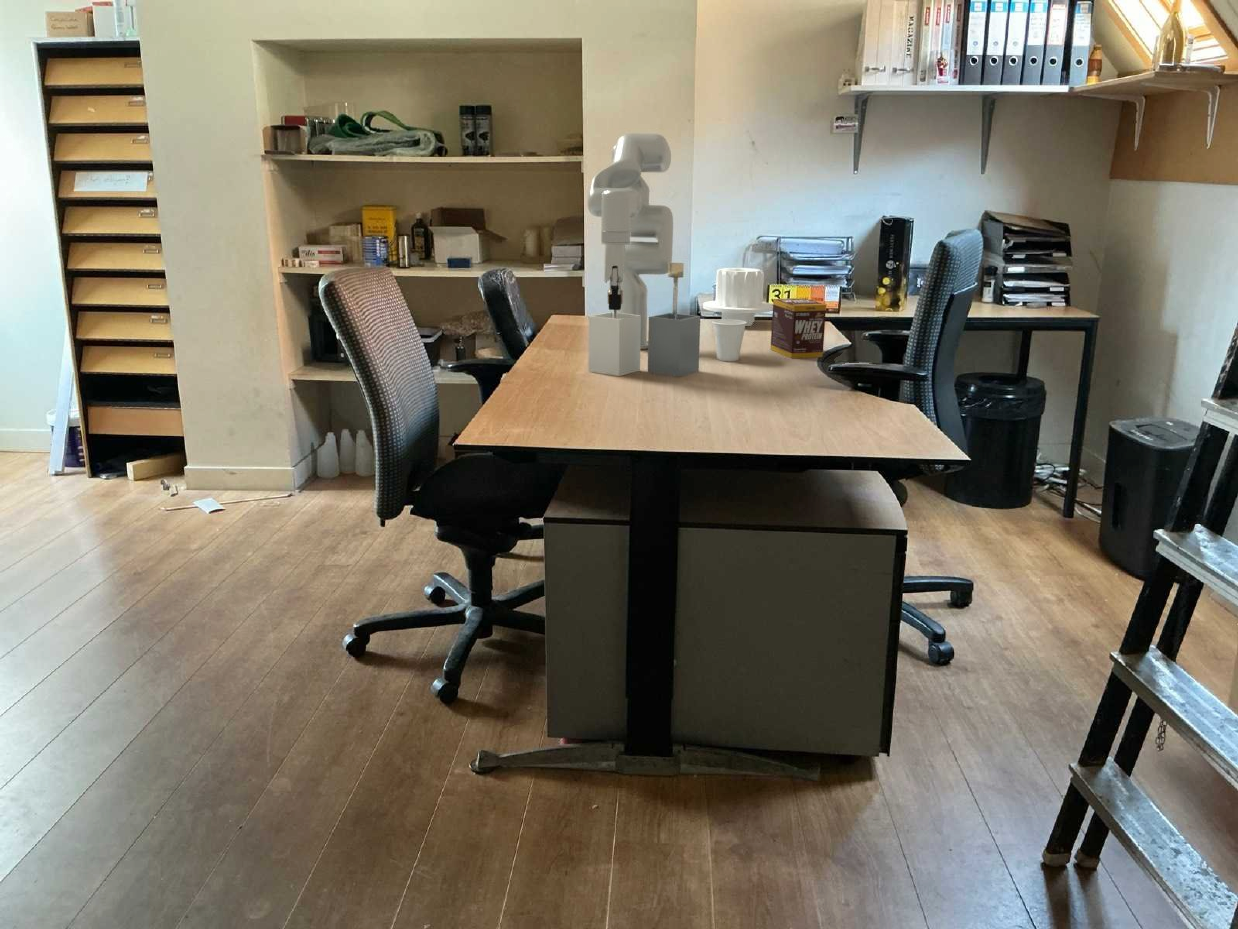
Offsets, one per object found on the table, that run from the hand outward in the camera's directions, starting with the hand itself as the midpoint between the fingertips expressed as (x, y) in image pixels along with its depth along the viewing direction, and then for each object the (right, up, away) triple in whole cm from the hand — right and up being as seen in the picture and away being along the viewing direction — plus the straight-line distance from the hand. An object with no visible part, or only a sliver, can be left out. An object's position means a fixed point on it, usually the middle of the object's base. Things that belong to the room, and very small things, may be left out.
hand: (615, 307), depth 275 cm
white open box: (0, -16, +5) cm, 17 cm away
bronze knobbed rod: (0, -14, +4) cm, 15 cm away
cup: (+33, -12, +23) cm, 41 cm away
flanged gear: (+43, +7, +89) cm, 99 cm away
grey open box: (+16, -17, +5) cm, 23 cm away
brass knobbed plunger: (+16, -7, +2) cm, 18 cm away
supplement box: (+54, -9, +34) cm, 65 cm away
